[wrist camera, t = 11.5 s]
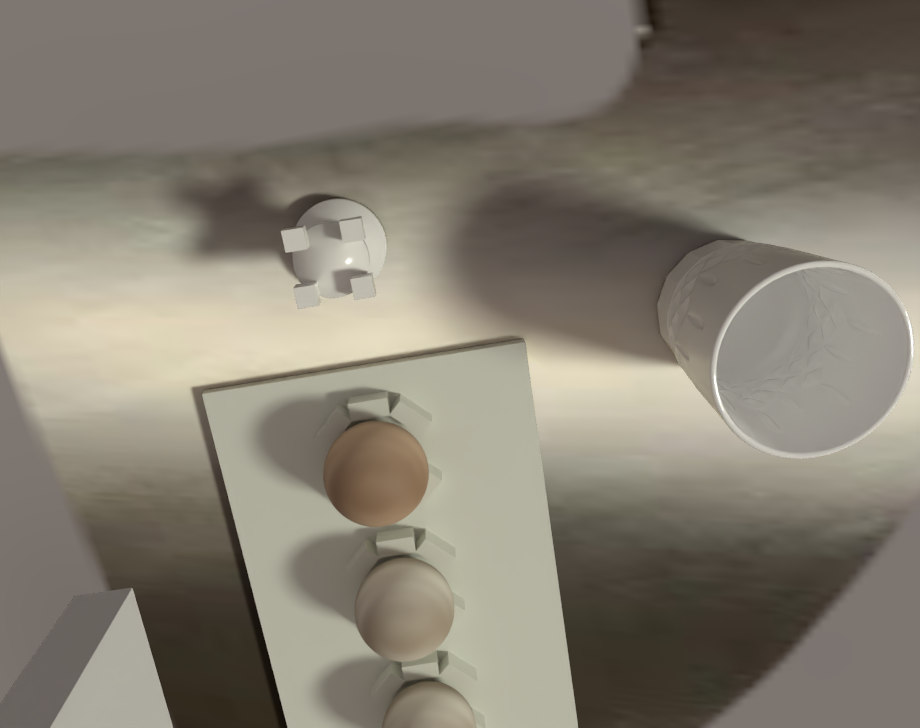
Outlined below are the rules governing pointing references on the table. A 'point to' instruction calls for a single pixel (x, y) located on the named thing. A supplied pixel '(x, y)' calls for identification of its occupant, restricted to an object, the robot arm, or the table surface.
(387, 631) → the egg cream mid
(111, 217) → the table surface
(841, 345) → the white cup
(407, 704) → the pale ball
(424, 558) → the tray
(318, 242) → the egg cup
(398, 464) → the light brown ball
